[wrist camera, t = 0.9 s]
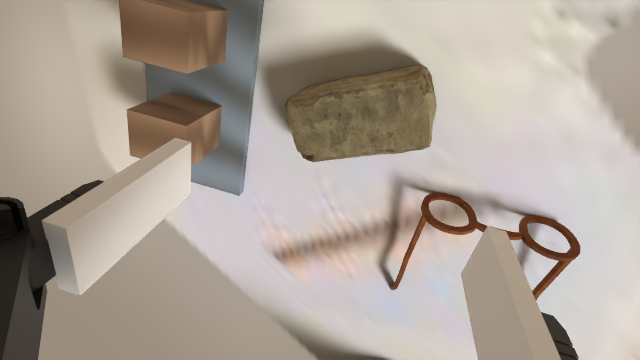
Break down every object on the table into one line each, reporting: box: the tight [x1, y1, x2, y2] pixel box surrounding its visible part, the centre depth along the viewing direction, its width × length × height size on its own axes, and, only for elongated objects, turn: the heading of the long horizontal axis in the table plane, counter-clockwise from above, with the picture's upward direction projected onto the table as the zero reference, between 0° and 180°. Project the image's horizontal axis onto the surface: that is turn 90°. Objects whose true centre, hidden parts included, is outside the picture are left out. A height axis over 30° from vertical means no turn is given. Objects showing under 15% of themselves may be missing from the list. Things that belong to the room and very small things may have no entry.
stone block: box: [285, 65, 436, 162], centre depth 28 cm, size 6×12×5 cm, turn 103°
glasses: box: [390, 193, 580, 300], centre depth 33 cm, size 13×13×5 cm
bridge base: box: [119, 0, 264, 196], centre depth 29 cm, size 22×10×7 cm, turn 168°
